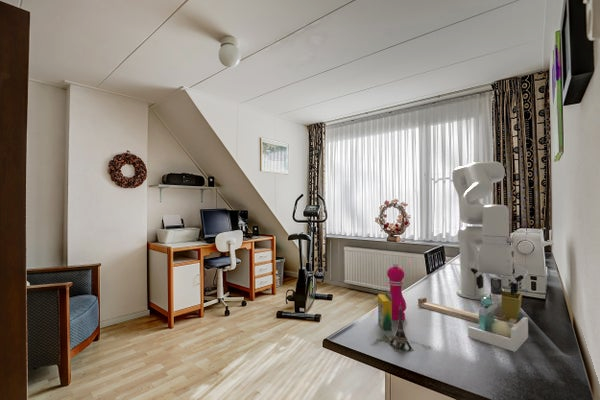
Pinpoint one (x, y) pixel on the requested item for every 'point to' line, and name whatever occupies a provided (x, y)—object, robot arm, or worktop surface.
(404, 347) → the eiffel tower figurine
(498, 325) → the ball
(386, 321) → the crayon box
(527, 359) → the worktop surface
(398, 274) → the pepper mill
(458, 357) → the worktop surface
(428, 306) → the oak rail
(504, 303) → the flower pot
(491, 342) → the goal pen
